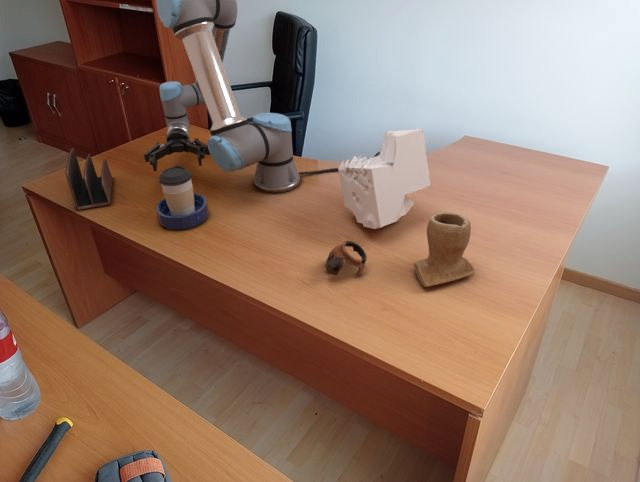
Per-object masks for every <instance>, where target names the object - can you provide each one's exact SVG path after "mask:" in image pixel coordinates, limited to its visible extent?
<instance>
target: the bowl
mask: <svg viewBox="0 0 640 482" xmlns="http://www.w3.org/2000/svg"><path fill="white" fill-rule="evenodd" d="M193 194H194V207H195V212H194V213H191V214H188V215H184V216H171V213H170V210H169V207H168V205H167V202H166V199H165V198H163V199H161V200H160V201H159V202H158V203H157V204H156V207H155V210H156V211H155V212H156V215H157V220H158V222H159V224H160V225H161V226H162V227H164V228H166V229H169V230H173V231H174V230H175V231H182V230H189V229H192V228H194V227H197V226H199V225H201V224H202V223H203V222H205V220H206V219H207V218H208V217H209V213H210V212H209V208H208V201H207V198H206V197H205V196H204V195H202V194H199V193H197V192H193Z"/></svg>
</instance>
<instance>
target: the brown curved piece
mask: <svg viewBox="0 0 640 482" xmlns="http://www.w3.org/2000/svg"><path fill="white" fill-rule="evenodd" d="M346 247H350V248H352V251H353V252H356V253H357V254H358V255H359V257H360V258H361V259H358V258H355V257H354V256H353V255H351V254H350V253H349V252H348V251H347V249H346ZM367 258H368V256H367V253H366V251H365V250H364V248H363V247H362V246H360V244H359V243H357V242H355V241H351V240H345V241H343V242H342V243H341V244H337V245H336V246H334V247H333V248H332V249H331V250H330V252H329V253H328V257H327V259H326V263H325V271H326V272H327V274H331V275H332V276H338V275H339V273H340V271H341V270H342V269H343V268H344V265H345V264H347V265H349V266H352V267H355V268H357V269H358V270H357V273H356V275H357V276H361V274H362V273H363V271H364V270H365V267H366V266H365V265H366V262H367Z"/></svg>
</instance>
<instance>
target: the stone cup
mask: <svg viewBox="0 0 640 482" xmlns="http://www.w3.org/2000/svg"><path fill="white" fill-rule="evenodd" d="M471 231H472V225H471V221H470V219H469V218H467V217H466V216H464V215H461V214H459V213H456V212H439V213H435V214H433V215H431V216H430V218H429V219H428V222H427V226H426V238H427V245H428V256H427V258H425V259H422V260H418V261H414V262H413V267H414V269H415V273H416V276H417V279H418V281H419V283H420V284H421V286H423V287H424V288H428V287H432V286H437V285H441V284H446V283H451V282H453V281H457V280H461V279H464V278H467V277H469V276H471V275H473V274H475V268H474V266H473V265H472V263H471V262H470V261H469V260H468V259H466V258H465V257H463V255H464V253H465V251H466V249H467V247H468V245H469V242H470V239H471Z"/></svg>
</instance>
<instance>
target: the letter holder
mask: <svg viewBox="0 0 640 482" xmlns="http://www.w3.org/2000/svg"><path fill="white" fill-rule="evenodd" d="M77 157H78V156H77V155H76V151H75V148H74V147H72V148H70V150H69V152H68V156H67V160H66V165H65V177H66V180H67V184H68V187H69V190H70V194H71V196H72V199H73V203H74V204H75V208H76V210H77V211H83V210H87V209H88V210H89V209H94V208H100V207H106V206H111V201H112V200H111V198H112V189H113V176H112V173H111V170H110V166H109V164H108V161H107V159H106V158H104V159H103V161H102V165H101V173H100V176H98V174H97V172H96V168H95V165H94V162H93V159H92V156H91V154H90V153H88V154H87V156H86V158H85V162H84V171H83V174H82V170H81V167H80V164H79V161H78V158H77Z"/></svg>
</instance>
